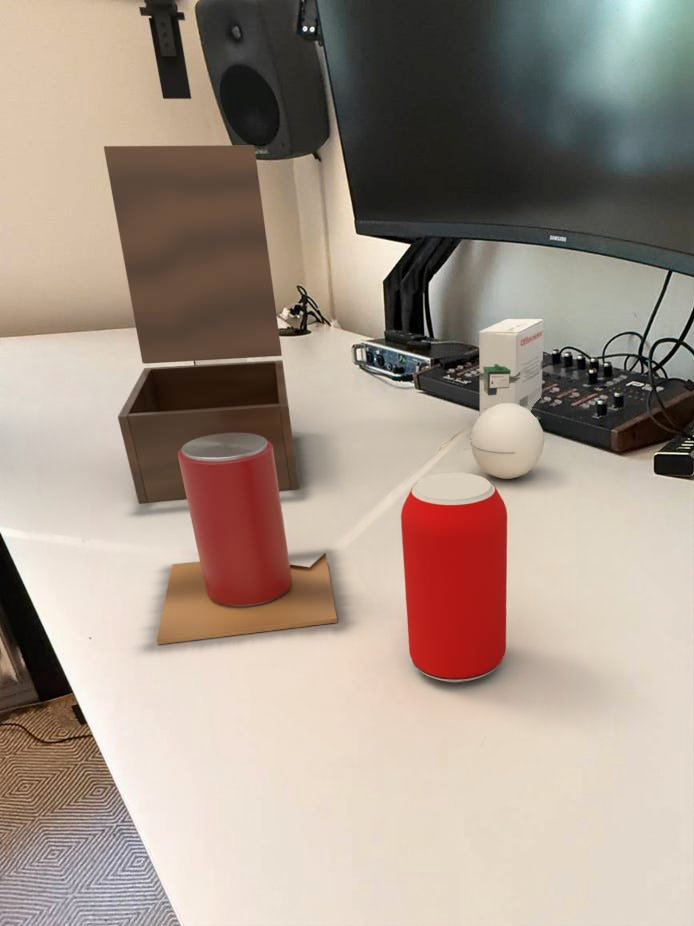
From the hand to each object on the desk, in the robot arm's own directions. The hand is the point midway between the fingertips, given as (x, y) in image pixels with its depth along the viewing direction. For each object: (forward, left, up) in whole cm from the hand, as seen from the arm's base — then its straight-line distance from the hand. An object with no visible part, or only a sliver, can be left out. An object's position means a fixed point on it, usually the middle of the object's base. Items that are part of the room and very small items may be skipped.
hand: (177, 98), depth 82 cm
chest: (+9, -17, -33) cm, 38 cm away
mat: (+26, -41, -33) cm, 59 cm away
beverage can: (+44, -46, -34) cm, 72 cm away
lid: (+3, -6, -14) cm, 16 cm away
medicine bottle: (-13, +18, -34) cm, 40 cm away
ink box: (+34, +6, -34) cm, 48 cm away
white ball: (+37, -12, -34) cm, 52 cm away
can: (+26, -41, -33) cm, 59 cm away
